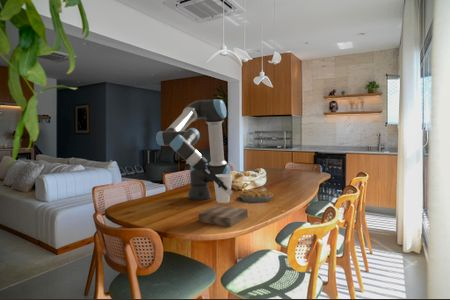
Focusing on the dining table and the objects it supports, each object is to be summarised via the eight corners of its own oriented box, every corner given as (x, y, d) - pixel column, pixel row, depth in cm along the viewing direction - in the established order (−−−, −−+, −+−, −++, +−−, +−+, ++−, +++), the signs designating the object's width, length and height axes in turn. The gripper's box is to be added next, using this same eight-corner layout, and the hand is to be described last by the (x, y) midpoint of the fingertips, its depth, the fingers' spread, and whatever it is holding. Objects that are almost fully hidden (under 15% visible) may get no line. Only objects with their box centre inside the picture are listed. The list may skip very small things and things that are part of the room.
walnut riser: (198, 221, 142) (198, 213, 142) (217, 212, 157) (217, 205, 157) (230, 226, 133) (230, 218, 133) (247, 216, 148) (247, 209, 148)
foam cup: (218, 204, 138) (218, 177, 137) (210, 200, 146) (210, 175, 146) (235, 202, 142) (235, 175, 142) (227, 198, 151) (226, 173, 150)
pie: (278, 201, 182) (278, 193, 182) (246, 204, 176) (246, 196, 176) (263, 194, 203) (263, 187, 203) (234, 197, 197) (234, 189, 197)
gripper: (190, 164, 152) (220, 193, 155) (193, 169, 130) (228, 202, 133) (200, 154, 152) (230, 182, 156) (204, 157, 130) (239, 190, 134)
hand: (229, 191), depth 145 cm, fingers closed on foam cup, 9 cm apart
